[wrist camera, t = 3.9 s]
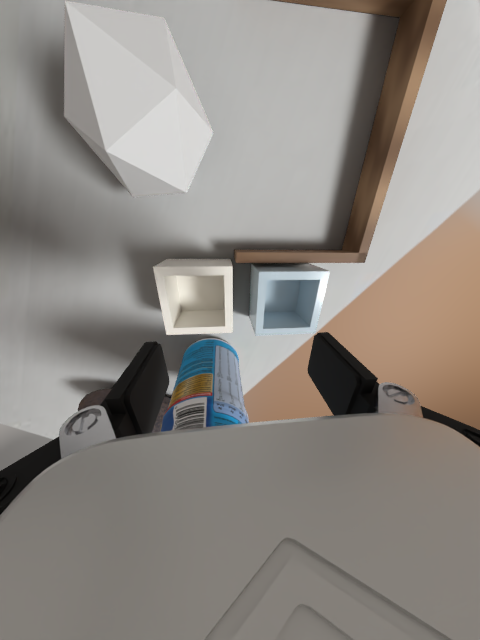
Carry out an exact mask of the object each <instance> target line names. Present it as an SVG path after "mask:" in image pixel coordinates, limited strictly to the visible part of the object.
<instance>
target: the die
mask: <svg viewBox="0 0 480 640" xmlns="http://www.w3.org/2000/svg"><path fill="white" fill-rule="evenodd" d="M64 117H65V118H66V119H67V120H68V122H69V123H70V124H71V125H72V126H73V127H74V129H75V130H76V131H77V132H78V133H79V134H80V136H81V137H82V138H83V139H84V140H85V141H86V143H87V144H88V145H89V146H90V147H91V148H92V150H93V151H94V152H95V153H96V154H97V155H98V157H99V158H100V159H101V160H102V161H103V162H104V164H105V165H106V166H107V167H108V168H109V170H110V171H111V172H112V173H113V174H114V175H115V177H116V178H117V179H118V180H119V181H120V182H121V184H122V185H123V186H124V187H125V188H126V189H127V191H128V192H129V193H130V194H131V195H132V196H133V197H145V196H157V195H169V194H181V193H187V191H188V189H189V187H190V185H191V182H192V180H193V178H194V176H195V173H196V171H197V169H198V167H199V164H200V162H201V160H202V158H203V156H204V153H205V151H206V149H207V147H208V144H209V142H210V140H211V138H212V135H213V133H214V132H213V130H212V127H211V125H210V123H209V120H208V118H207V116H206V113H205V111H204V109H203V107H202V104H201V102H200V100H199V97H198V95H197V93H196V90H195V88H194V86H193V83H192V81H191V79H190V76H189V74H188V72H187V69H186V67H185V65H184V62H183V60H182V58H181V55H180V53H179V51H178V48H177V46H176V44H175V41H174V39H173V37H172V34H171V32H170V30H169V27H168V25H167V23H166V21H165V18H164V17H158V16H152V15H146V14H140V13H135V12H129V11H123V10H117V9H111V8H105V7H100V6H94V5H88V4H82V3H76V2H70V1H65V34H64Z"/></svg>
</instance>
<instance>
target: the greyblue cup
mask: <svg viewBox="0 0 480 640" xmlns="http://www.w3.org/2000/svg"><path fill="white" fill-rule="evenodd" d="M329 273H330V271H328V270H325V269H322V268H320V267H317V266H314V265H312V264H309V263H251V279H250V304H249V318H250V321H251V324H252V327H253V330H254V333H255V336H257V335H282V334H307V333H316V328H317V324H318V320H319V316H320V311H321V307H322V303H323V299H324V294H325V290H326V286H327V282H328V277H329Z"/></svg>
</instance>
